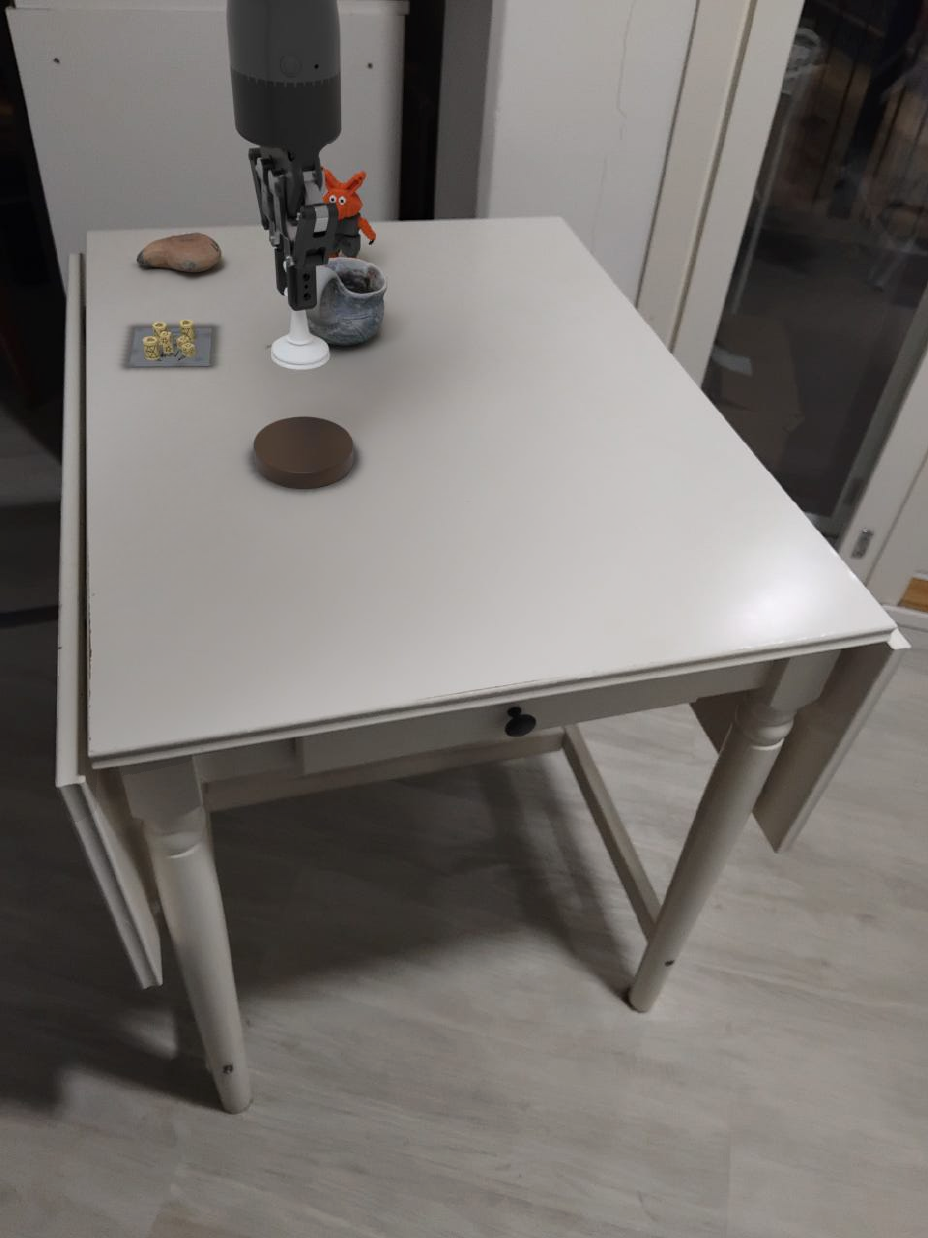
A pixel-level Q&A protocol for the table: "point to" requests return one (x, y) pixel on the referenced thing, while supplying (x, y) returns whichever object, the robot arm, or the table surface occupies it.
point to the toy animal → (347, 215)
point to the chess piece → (299, 344)
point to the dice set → (171, 345)
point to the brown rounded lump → (182, 252)
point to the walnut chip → (303, 452)
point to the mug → (347, 301)
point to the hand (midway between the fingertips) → (296, 299)
